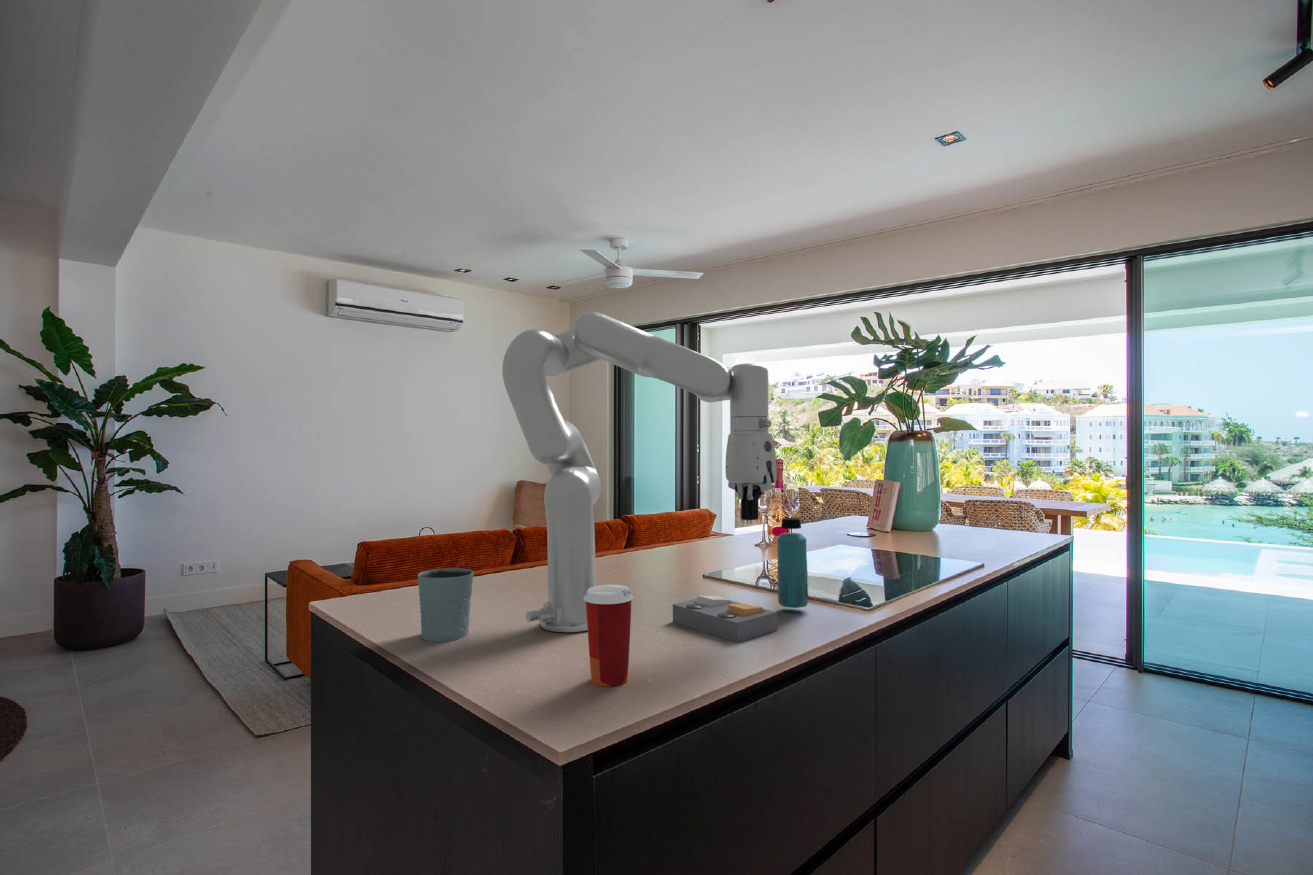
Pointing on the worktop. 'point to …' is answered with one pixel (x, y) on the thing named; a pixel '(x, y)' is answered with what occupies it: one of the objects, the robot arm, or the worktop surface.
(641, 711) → the worktop surface
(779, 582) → the beverage bottle
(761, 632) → the grey switch box
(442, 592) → the grey-blue cup
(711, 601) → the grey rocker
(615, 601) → the paper cup
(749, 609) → the labelled cardboard parcel
